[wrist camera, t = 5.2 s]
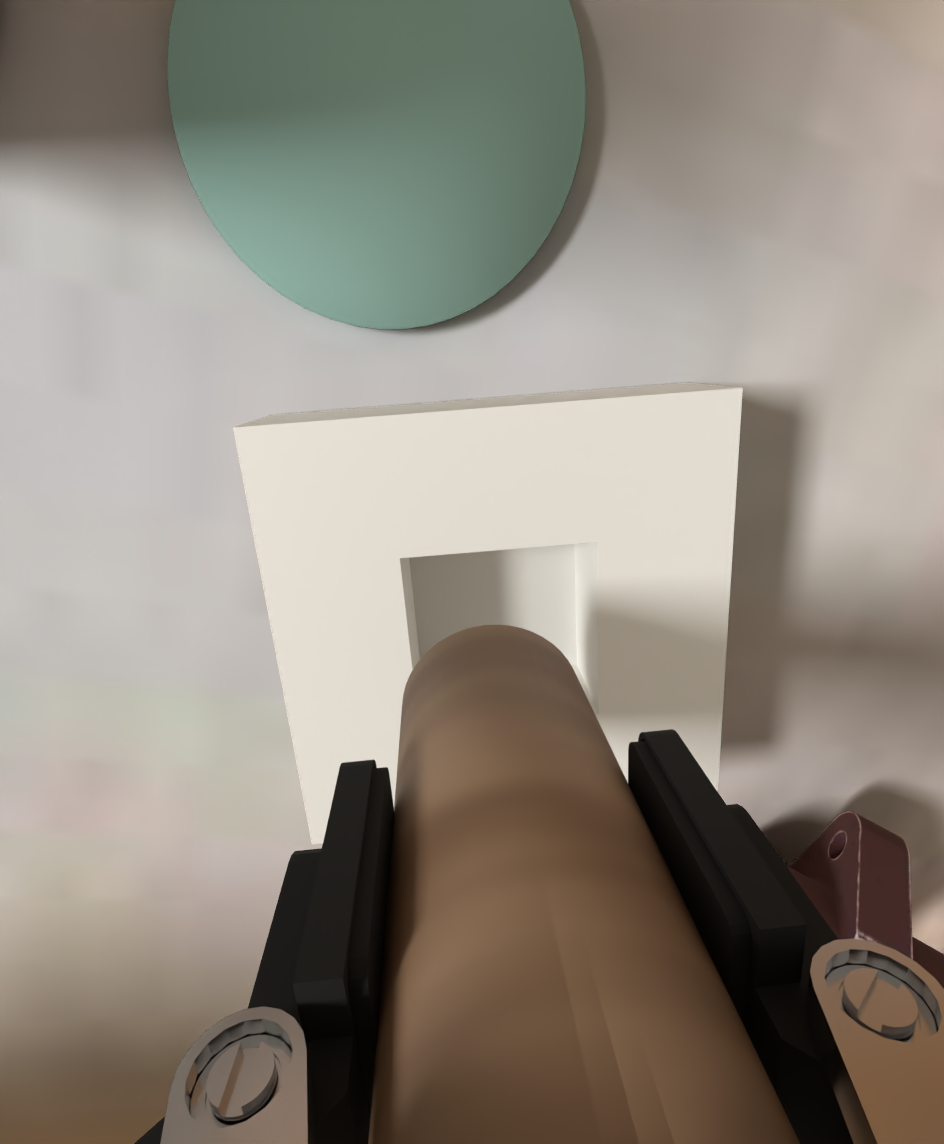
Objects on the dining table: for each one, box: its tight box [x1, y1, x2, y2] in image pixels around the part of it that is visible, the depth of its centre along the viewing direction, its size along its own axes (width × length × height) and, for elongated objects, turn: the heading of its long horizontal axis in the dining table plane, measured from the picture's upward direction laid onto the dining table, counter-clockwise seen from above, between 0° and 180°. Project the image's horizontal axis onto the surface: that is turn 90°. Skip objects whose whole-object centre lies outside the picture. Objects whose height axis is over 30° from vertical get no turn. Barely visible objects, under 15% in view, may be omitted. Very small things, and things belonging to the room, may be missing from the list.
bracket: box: [786, 811, 944, 989], centre depth 21 cm, size 6×17×10 cm, turn 161°
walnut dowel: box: [368, 625, 800, 1144], centre depth 9 cm, size 4×4×11 cm
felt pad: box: [167, 0, 586, 329], centre depth 16 cm, size 10×10×1 cm
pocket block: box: [233, 382, 743, 844], centre depth 19 cm, size 12×12×4 cm
